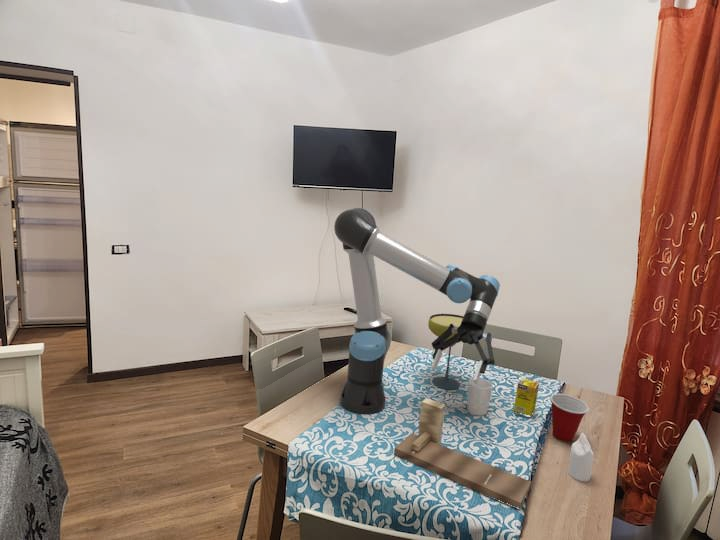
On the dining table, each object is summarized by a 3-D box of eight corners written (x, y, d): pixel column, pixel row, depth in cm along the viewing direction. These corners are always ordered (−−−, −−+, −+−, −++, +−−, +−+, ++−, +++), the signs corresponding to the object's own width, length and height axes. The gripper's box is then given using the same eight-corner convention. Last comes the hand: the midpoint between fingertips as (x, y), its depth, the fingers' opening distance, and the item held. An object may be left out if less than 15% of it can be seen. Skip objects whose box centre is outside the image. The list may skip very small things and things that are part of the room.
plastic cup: (566, 450, 134) (573, 412, 132) (537, 431, 143) (542, 396, 141) (590, 443, 139) (597, 406, 137) (560, 425, 148) (566, 391, 146)
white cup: (489, 418, 149) (493, 390, 147) (465, 414, 151) (469, 386, 149) (488, 407, 157) (492, 380, 155) (464, 403, 158) (468, 376, 156)
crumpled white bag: (601, 441, 117) (579, 439, 117) (593, 483, 119) (571, 480, 120) (592, 429, 123) (570, 426, 123) (584, 469, 125) (563, 466, 126)
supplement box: (531, 419, 151) (536, 388, 149) (512, 413, 154) (517, 383, 152) (534, 412, 156) (539, 382, 154) (517, 406, 159) (521, 377, 157)
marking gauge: (404, 451, 126) (408, 411, 123) (422, 435, 135) (426, 398, 132) (424, 460, 122) (428, 419, 120) (440, 443, 131) (445, 404, 129)
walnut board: (393, 454, 125) (394, 447, 125) (410, 439, 133) (411, 432, 133) (519, 510, 107) (520, 502, 106) (530, 488, 115) (531, 481, 114)
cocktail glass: (461, 399, 162) (470, 331, 157) (414, 384, 170) (421, 320, 165) (475, 381, 177) (483, 320, 173) (431, 369, 186) (438, 310, 181)
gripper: (515, 332, 144) (495, 392, 135) (442, 315, 157) (419, 369, 148) (513, 320, 139) (492, 381, 129) (438, 303, 152) (413, 358, 142)
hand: (453, 375), depth 138 cm, fingers open, 13 cm apart
